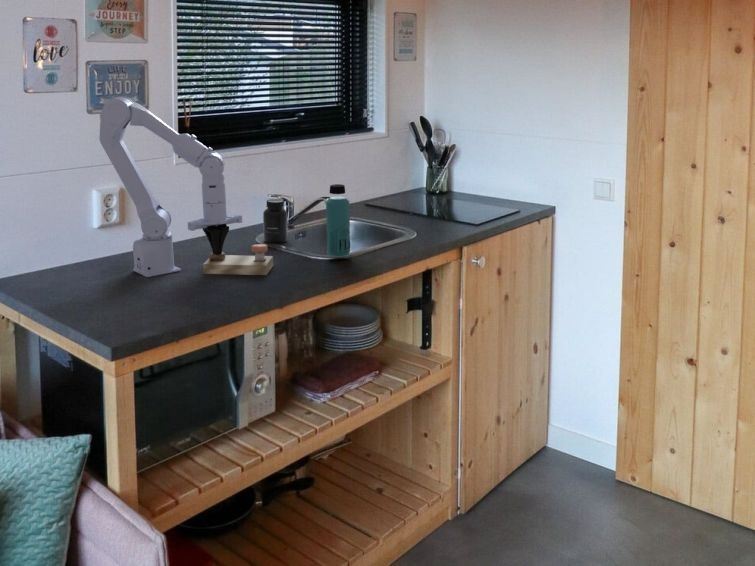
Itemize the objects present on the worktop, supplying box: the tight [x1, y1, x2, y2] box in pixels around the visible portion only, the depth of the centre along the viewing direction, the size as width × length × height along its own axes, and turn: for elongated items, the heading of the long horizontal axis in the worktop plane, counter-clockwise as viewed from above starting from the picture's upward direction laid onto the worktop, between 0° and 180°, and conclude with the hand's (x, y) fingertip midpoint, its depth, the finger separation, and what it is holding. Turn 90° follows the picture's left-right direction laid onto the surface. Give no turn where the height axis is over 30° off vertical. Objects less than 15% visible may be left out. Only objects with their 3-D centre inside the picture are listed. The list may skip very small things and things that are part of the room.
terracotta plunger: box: [250, 243, 268, 261], centre depth 217 cm, size 4×4×4 cm
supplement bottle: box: [262, 198, 288, 244], centre depth 246 cm, size 7×7×12 cm
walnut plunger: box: [208, 251, 226, 261], centre depth 219 cm, size 4×4×4 cm
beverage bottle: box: [325, 184, 351, 257], centre depth 226 cm, size 6×7×20 cm
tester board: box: [202, 254, 274, 276], centre depth 218 cm, size 16×9×2 cm, turn 85°
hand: (217, 253), depth 218 cm, fingers closed, pressing on walnut plunger
